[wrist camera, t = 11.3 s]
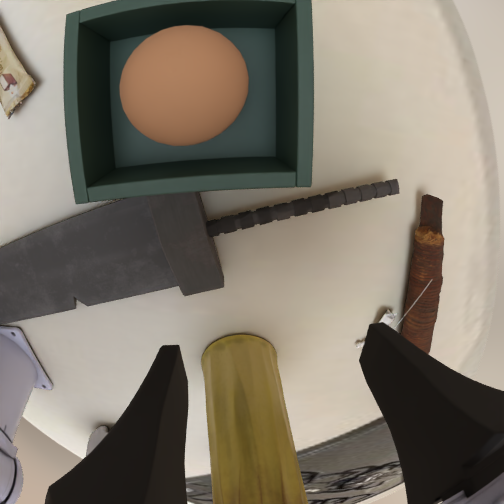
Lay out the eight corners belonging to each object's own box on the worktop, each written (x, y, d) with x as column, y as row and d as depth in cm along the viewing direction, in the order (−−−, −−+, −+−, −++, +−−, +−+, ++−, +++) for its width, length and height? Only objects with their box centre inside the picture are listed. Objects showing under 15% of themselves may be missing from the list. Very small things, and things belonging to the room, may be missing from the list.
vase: (197, 380, 24) (203, 539, 11) (205, 328, 22) (214, 524, 9) (266, 384, 25) (298, 532, 13) (285, 335, 23) (339, 510, 10)
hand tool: (400, 396, 31) (416, 414, 28) (380, 408, 30) (395, 428, 27) (430, 185, 19) (466, 198, 16) (401, 193, 18) (439, 209, 15)
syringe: (347, 347, 25) (364, 345, 26) (357, 365, 24) (373, 361, 24) (412, 261, 20) (427, 262, 20) (427, 279, 18) (441, 279, 19)
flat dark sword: (-42, 259, 16) (-54, 270, 15) (383, 126, 16) (400, 129, 14) (-6, 325, 20) (-16, 338, 18) (392, 233, 19) (406, 245, 17)
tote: (109, 179, 16) (75, 204, 11) (102, 35, 12) (65, 14, 8) (285, 166, 17) (312, 187, 13) (284, 21, 13) (311, -8, 9)
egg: (124, 115, 14) (67, 121, 8) (171, 30, 12) (146, -19, 6) (210, 156, 16) (208, 185, 10) (259, 72, 14) (293, 45, 8)
